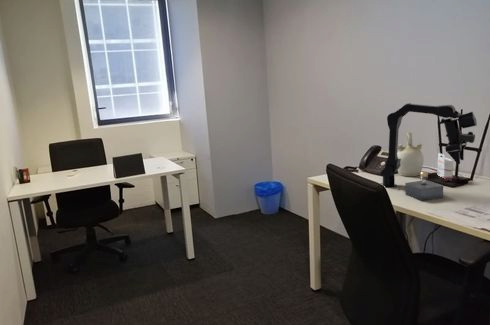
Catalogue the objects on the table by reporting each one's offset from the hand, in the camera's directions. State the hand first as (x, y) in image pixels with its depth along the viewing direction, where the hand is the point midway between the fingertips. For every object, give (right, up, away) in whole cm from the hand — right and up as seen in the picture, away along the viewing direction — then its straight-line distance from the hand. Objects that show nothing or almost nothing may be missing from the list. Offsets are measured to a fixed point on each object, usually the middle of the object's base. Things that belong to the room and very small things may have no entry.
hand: (460, 161), depth 189 cm
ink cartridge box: (+6, -10, +27) cm, 29 cm away
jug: (-6, -7, +44) cm, 45 cm away
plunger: (-17, -12, +1) cm, 21 cm away
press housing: (-17, -17, +2) cm, 24 cm away
